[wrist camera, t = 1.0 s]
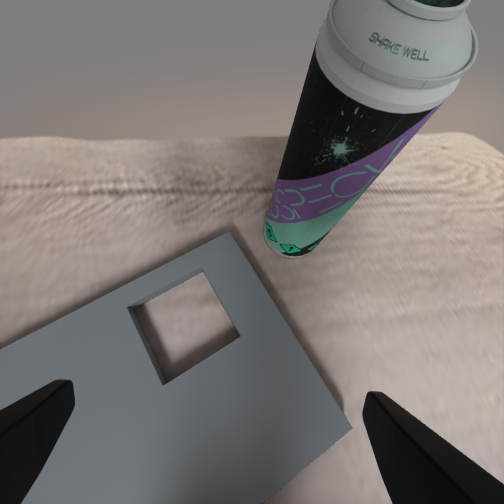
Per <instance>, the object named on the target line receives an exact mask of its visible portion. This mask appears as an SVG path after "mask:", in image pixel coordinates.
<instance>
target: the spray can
mask: <svg viewBox="0 0 504 504" xmlns="http://www.w3.org/2000/svg"><path fill="white" fill-rule="evenodd" d="M470 1H471V0H332V2H331V3H330V6H329V10H328V14H327V19H326V20H325V21H324V22H323V24H322V26H321V28H320V30H319V34H318V37H317V41H316V44H315V48H314V51H313V55H312V59H311V62H310V65H309V69H308V73H307V76H306V80H305V83H304V87H303V90H302V94H301V97H300V101H299V104H298V108H297V111H296V115H295V118H294V122H293V125H292V129H291V132H290V136H289V139H288V143H287V146H286V150H285V153H284V157H283V160H282V164H281V167H280V171H279V174H278V178H277V181H276V185H275V188H274V192H273V195H272V199H271V202H270V206H269V209H268V213H267V216H266V220H265V224H264V238H265V241H266V243H267V244H268V246H269V247H270V248H271V249H272V250H273V251H274V252H275V253H276V254H278V255H280V256H282V257H285V258H293V259H295V258H301V257H303V256H306V255H307V254H309V253H310V252H311V251H312V250H313V249H314V248H315V247H316V246H317V245H318V244H319V243H320V242H321V240H322V239H323V238H324V237H325V236H326V235H327V234H328V233H329V231H330V230H331V229H332V228H333V227H334V226H335V225H336V223H337V222H338V221H339V220H340V219H341V218H342V217H343V216H344V214H345V213H346V212H347V211H348V210H349V209H350V208H351V206H352V205H353V204H354V203H355V202H356V201H357V200H358V199H359V197H360V196H361V195H362V194H363V193H364V192H365V191H366V189H367V188H368V187H369V186H370V185H371V184H372V183H373V182H374V180H375V179H376V178H377V177H378V176H379V175H380V174H381V172H382V171H383V170H384V169H385V168H386V167H387V166H388V165H389V163H390V162H391V161H392V160H393V159H394V158H395V157H396V155H397V154H398V153H399V152H400V151H401V150H402V149H403V148H404V146H405V145H406V144H407V143H408V142H409V141H410V140H411V138H412V137H413V136H414V135H415V134H416V133H417V132H418V131H419V129H420V128H421V127H422V126H423V125H424V124H425V123H426V121H427V120H428V119H429V118H430V117H431V116H432V115H433V114H434V112H435V111H436V110H437V109H438V108H439V107H440V106H441V105H442V103H443V102H444V101H445V100H446V99H447V98H448V96H449V95H450V94H451V93H452V92H453V91H454V90H455V89H456V87H457V85H458V83H459V82H460V78H461V76H462V75H463V74H464V73H465V72H466V71H467V70H468V69H469V68H470V67H471V66H472V64H473V62H474V61H475V59H476V57H477V53H478V41H477V36H476V34H475V31H474V29H473V27H472V25H471V24H470V23H469V20H468V17H467V14H466V11H465V9H466V7H467V6H468V4H469V3H470Z"/></svg>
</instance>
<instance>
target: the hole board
mask: <svg viewBox="0 0 504 504" xmlns="http://www.w3.org/2000/svg"><path fill="white" fill-rule="evenodd" d="M201 272H204V274H205V275H206V277H207V279H208V281H209V283H210V284H211V286H212V288H213V290H214V291H215V293H216V295H217V297H218V298H219V300H220V302H221V304H222V305H223V307H224V309H225V311H226V312H227V314H228V316H229V318H230V320H231V321H232V323H233V325H234V327H235V328H236V330H237V332H238V334H239V335H240V337H239V338H238V339H236V340H234V341H233V342H231V343H230V344H228V345H227V346H225V347H223V348H222V349H220V350H219V351H217V352H216V353H214V354H212V355H211V356H209V357H208V358H206V359H205V360H203V361H201V362H200V363H198V364H197V365H195V366H194V367H192V368H190V369H189V370H187V371H186V372H184V373H183V374H181V375H179V376H178V377H176V378H175V379H173V380H172V381H170V382H168V383H167V381H166V379H165V377H164V375H163V372H162V370H161V368H160V366H159V364H158V362H157V360H156V357H155V355H154V353H153V351H152V349H151V347H150V345H149V342H148V340H147V338H146V336H145V334H144V332H143V330H142V327H141V325H140V323H139V321H138V319H137V317H136V315H135V312H134V310H133V309H135V308H136V307H138V306H140V305H142V304H144V303H146V302H148V301H149V300H151V299H153V298H155V297H157V296H159V295H160V294H162V293H164V292H166V291H168V290H170V289H171V288H173V287H175V286H177V285H179V284H181V283H182V282H184V281H186V280H188V279H190V278H192V277H193V276H195V275H197V274H199V273H201ZM56 379H69V380H71V381H72V382H73V386H74V394H75V407H74V410H73V412H72V414H71V416H70V418H69V420H68V422H67V424H66V426H65V428H64V429H63V431H62V433H61V435H60V437H59V439H58V441H57V443H56V445H55V447H54V449H53V451H52V452H51V454H50V456H49V458H48V460H47V462H46V464H45V466H44V467H43V469H42V471H41V473H40V474H39V476H38V477H37V479H36V481H35V482H34V484H33V486H32V487H31V489H30V490H29V492H28V494H27V495H26V497H25V498H24V500H23V501H22V503H21V504H262V503H264V502H265V501H266V500H267V499H268V498H270V497H271V496H272V495H273V494H274V493H276V492H277V491H278V490H279V489H280V488H282V487H283V486H284V485H285V484H286V483H288V482H289V481H290V480H291V479H292V478H294V477H295V476H296V475H297V474H298V473H300V472H301V471H302V470H303V469H304V468H305V467H307V466H308V465H309V464H310V463H311V462H313V461H314V460H315V459H316V458H317V457H319V456H320V455H321V454H322V453H323V452H325V451H326V450H327V449H328V448H329V447H331V446H332V445H333V444H334V443H335V442H337V441H338V440H339V439H340V438H341V437H343V436H344V435H345V434H346V433H347V432H349V431H350V430H351V429H352V426H351V425H350V423H349V421H348V420H347V418H346V417H345V415H344V413H343V412H342V410H341V409H340V407H339V405H338V404H337V402H336V401H335V399H334V397H333V396H332V394H331V393H330V391H329V389H328V388H327V386H326V385H325V383H324V381H323V380H322V378H321V377H320V375H319V374H318V372H317V370H316V369H315V367H314V366H313V364H312V362H311V361H310V359H309V358H308V356H307V354H306V353H305V351H304V350H303V348H302V346H301V345H300V343H299V342H298V340H297V338H296V337H295V335H294V334H293V332H292V330H291V329H290V327H289V326H288V324H287V322H286V321H285V319H284V318H283V316H282V314H281V313H280V311H279V310H278V308H277V306H276V305H275V303H274V302H273V300H272V298H271V297H270V295H269V294H268V292H267V290H266V289H265V287H264V286H263V284H262V282H261V281H260V279H259V278H258V276H257V274H256V273H255V271H254V270H253V268H252V266H251V265H250V263H249V262H248V260H247V258H246V257H245V255H244V254H243V252H242V250H241V249H240V247H239V246H238V244H237V243H236V241H235V239H234V238H233V236H232V235H231V233H230V231H228V232H227V233H225V234H223V235H221V236H219V237H217V238H215V239H213V240H211V241H209V242H207V243H205V244H203V245H201V246H199V247H197V248H196V249H194V250H192V251H190V252H188V253H186V254H184V255H182V256H180V257H178V258H176V259H174V260H172V261H170V262H168V263H166V264H165V265H163V266H161V267H159V268H157V269H155V270H153V271H151V272H149V273H147V274H145V275H143V276H141V277H139V278H137V279H136V280H134V281H132V282H130V283H128V284H126V285H124V286H122V287H120V288H118V289H116V290H114V291H112V292H110V293H108V294H106V295H105V296H103V297H101V298H99V299H97V300H95V301H93V302H91V303H89V304H87V305H85V306H83V307H81V308H79V309H77V310H76V311H74V312H72V313H70V314H68V315H66V316H64V317H62V318H60V319H58V320H56V321H54V322H52V323H50V324H48V325H46V326H45V327H43V328H41V329H39V330H37V331H35V332H33V333H31V334H29V335H27V336H25V337H23V338H21V339H19V340H17V341H15V342H14V343H12V344H10V345H8V346H6V347H4V348H2V349H0V410H1V409H3V408H5V407H7V406H9V405H10V404H12V403H14V402H16V401H18V400H19V399H21V398H23V397H25V396H27V395H28V394H30V393H32V392H34V391H36V390H38V389H39V388H41V387H43V386H45V385H47V384H48V383H50V382H52V381H54V380H56Z"/></svg>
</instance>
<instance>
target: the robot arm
mask: <svg viewBox="0 0 504 504" xmlns="http://www.w3.org/2000/svg"><path fill="white" fill-rule="evenodd" d="M74 407H75V394H74V386H73V382H72V381H71V380H69V379H56V380H54V381H52V382H50V383H48V384H47V385H45V386H43V387H41V388H39V389H38V390H36V391H34V392H32V393H30V394H28V395H27V396H25V397H23V398H21V399H19V400H18V401H16V402H14V403H12V404H10V405H9V406H7V407H5V408H3V409H1V410H0V504H21V503H22V501H23V500H24V498H25V497H26V495H27V494H28V492H29V490H30V489H31V487H32V486H33V484H34V482H35V481H36V479H37V477H38V476H39V474H40V473H41V471H42V469H43V467H44V466H45V464H46V462H47V460H48V458H49V456H50V454H51V452H52V451H53V449H54V447H55V445H56V443H57V441H58V439H59V437H60V435H61V433H62V431H63V429H64V428H65V426H66V424H67V422H68V420H69V418H70V416H71V414H72V412H73V410H74ZM362 415H363V421H364V424H365V427H366V430H367V433H368V437H369V440H370V443H371V446H372V449H373V452H374V455H375V458H376V461H377V464H378V467H379V470H380V473H381V476H382V479H383V481H384V484H385V486H386V489H387V491H388V494H389V496H390V498H391V501H392V503H393V504H504V484H503V483H501V482H500V481H499V480H497V479H496V478H495V477H493V476H492V475H491V474H489V473H488V472H487V471H485V470H484V469H483V468H482V467H480V466H479V465H478V464H476V463H475V462H474V461H472V460H471V459H470V458H468V457H467V456H466V455H464V454H463V453H462V452H460V451H459V450H458V449H456V448H455V447H454V446H453V445H451V444H450V443H449V442H447V441H446V440H445V439H443V438H442V437H441V436H439V435H438V434H437V433H435V432H434V431H433V430H431V429H430V428H429V427H427V426H426V425H425V424H423V423H422V422H421V421H420V420H418V419H417V418H416V417H414V416H413V415H412V414H410V413H409V412H408V411H406V410H405V409H404V408H402V407H401V406H400V405H398V404H397V403H396V402H394V401H393V400H392V399H391V398H389V397H388V396H387V395H385V394H384V393H382V392H377V391H370V392H368V393H367V395H366V399H365V403H364V408H363V414H362Z"/></svg>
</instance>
